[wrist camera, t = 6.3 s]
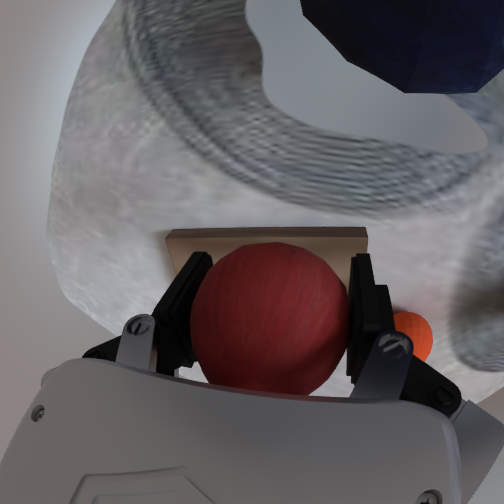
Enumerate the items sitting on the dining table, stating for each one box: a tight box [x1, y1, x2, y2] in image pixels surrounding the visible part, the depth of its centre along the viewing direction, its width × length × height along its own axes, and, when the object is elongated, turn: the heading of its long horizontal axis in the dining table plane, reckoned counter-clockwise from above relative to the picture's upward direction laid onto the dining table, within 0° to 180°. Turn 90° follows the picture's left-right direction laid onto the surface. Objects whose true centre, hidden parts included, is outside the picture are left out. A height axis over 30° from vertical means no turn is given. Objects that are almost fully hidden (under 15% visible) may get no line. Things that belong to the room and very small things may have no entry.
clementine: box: [393, 312, 433, 361], centre depth 28 cm, size 8×7×7 cm
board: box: [165, 227, 368, 294], centre depth 31 cm, size 14×20×2 cm
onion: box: [190, 242, 352, 395], centre depth 10 cm, size 6×6×8 cm
